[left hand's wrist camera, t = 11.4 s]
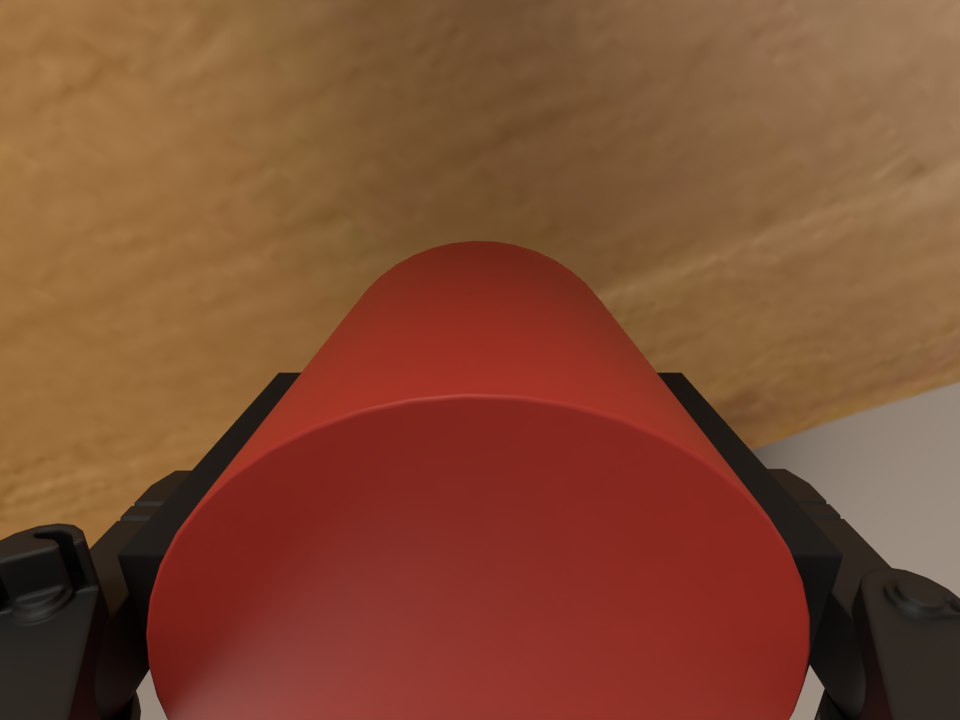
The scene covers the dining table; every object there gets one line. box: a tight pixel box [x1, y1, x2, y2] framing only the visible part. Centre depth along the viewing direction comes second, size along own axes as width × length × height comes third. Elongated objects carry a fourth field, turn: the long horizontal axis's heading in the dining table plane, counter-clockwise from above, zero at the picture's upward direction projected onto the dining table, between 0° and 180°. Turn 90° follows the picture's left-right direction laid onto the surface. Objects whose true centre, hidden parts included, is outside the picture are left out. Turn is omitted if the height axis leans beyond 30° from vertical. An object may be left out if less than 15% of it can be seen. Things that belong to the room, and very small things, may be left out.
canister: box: [146, 241, 810, 720], centre depth 12 cm, size 9×9×10 cm
